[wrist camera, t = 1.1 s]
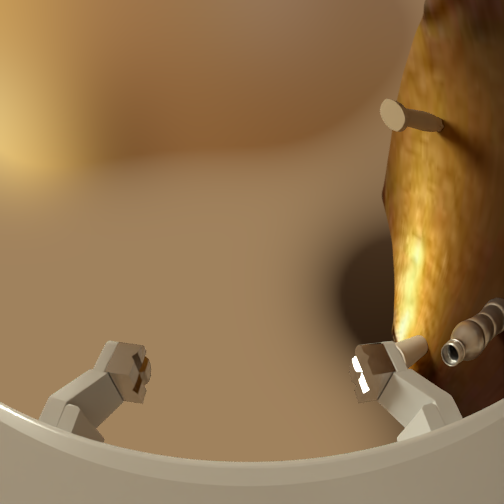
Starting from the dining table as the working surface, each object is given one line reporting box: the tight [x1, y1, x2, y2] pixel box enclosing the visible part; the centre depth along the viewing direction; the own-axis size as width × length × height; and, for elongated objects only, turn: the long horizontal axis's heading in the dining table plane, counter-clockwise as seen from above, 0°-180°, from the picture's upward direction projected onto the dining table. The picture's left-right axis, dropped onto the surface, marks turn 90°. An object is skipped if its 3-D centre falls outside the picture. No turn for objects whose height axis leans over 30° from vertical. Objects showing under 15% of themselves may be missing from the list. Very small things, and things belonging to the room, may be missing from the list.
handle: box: [380, 99, 444, 132], centre depth 41 cm, size 5×6×15 cm
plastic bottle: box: [441, 298, 504, 366], centre depth 33 cm, size 6×7×20 cm
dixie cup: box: [395, 335, 428, 368], centre depth 58 cm, size 8×8×10 cm
